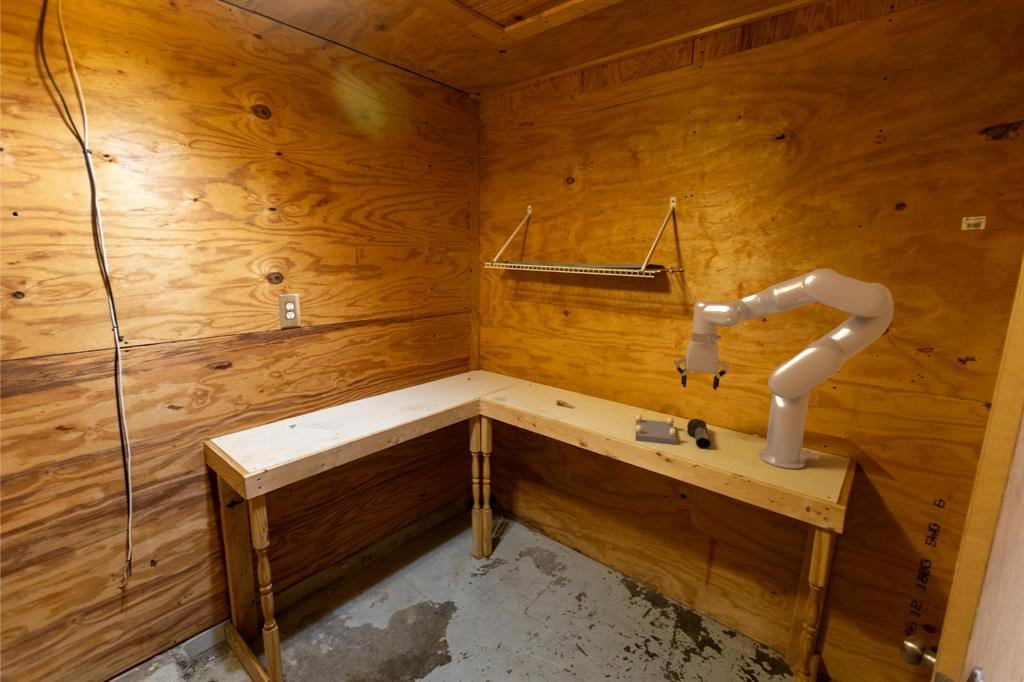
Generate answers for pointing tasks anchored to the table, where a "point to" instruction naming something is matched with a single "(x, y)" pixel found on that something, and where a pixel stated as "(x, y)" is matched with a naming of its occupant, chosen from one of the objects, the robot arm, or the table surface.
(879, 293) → the robot arm
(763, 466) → the table surface
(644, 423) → the pipe stand
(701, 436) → the dark elongated piece
